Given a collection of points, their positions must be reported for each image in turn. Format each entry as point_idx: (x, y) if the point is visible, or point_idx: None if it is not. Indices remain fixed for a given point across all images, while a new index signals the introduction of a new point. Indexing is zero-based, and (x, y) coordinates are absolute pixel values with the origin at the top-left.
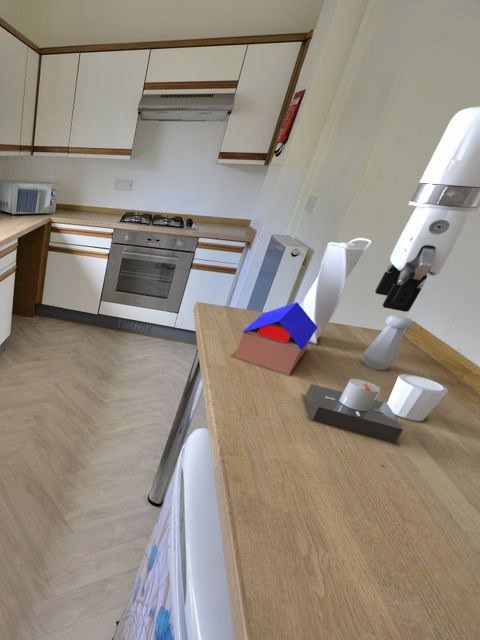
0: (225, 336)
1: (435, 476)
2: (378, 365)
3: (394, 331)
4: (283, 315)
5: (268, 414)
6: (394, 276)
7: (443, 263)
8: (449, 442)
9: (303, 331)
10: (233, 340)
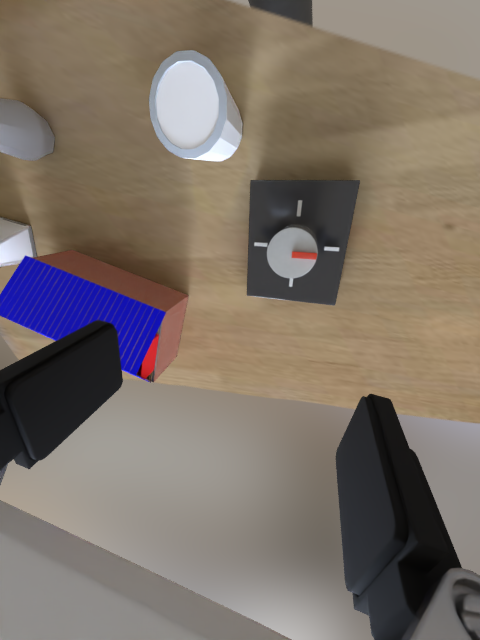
0: None
1: (456, 141)
2: (48, 135)
3: None
4: None
5: (345, 350)
6: (37, 428)
7: None
8: (301, 69)
9: (91, 301)
10: None
